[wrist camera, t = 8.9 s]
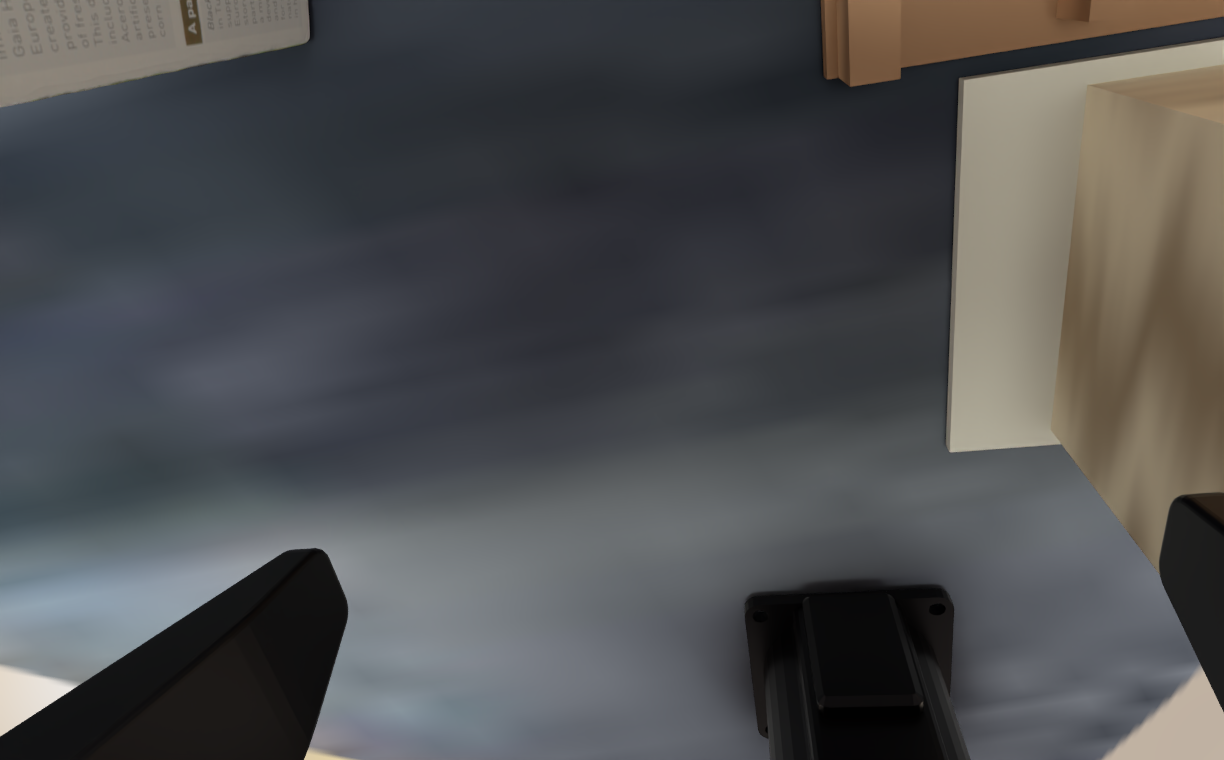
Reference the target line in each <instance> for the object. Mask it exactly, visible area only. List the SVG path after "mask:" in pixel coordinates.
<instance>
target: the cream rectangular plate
mask: <svg viewBox="0 0 1224 760" xmlns="http://www.w3.org/2000/svg"><path fill="white" fill-rule="evenodd" d="M1223 64H1224V37H1220V38H1214V39H1207V40H1201V41H1194V42H1188V43H1181V44H1175V45H1169V46H1162V47H1156V48H1149V49H1143V50H1136V51H1130V52H1123V53H1117V54H1111V55H1104V56H1098V57H1091V58H1085V59H1078V60H1072V61H1065V62H1059V63H1053V64H1046V65H1040V66H1033V67H1027V68H1020V69H1014V70H1007V71H1001V72H995V73H988V74H982V75H975V76H969V77H962V78H959V93H958V121H957V149H956V177H955V205H954V233H953V261H952V289H951V317H950V345H949V373H948V401H947V429H946V446H947V448H948V450H949V452H962V451H976V450H989V449H1003V448H1016V447H1030V446H1043V445H1056V444H1061V443H1060V441H1059V440H1058V439H1057V438H1056V436H1055V435H1054V434H1053V432H1052V431H1051V422H1052V413H1053V404H1054V394H1055V385H1056V375H1057V366H1058V357H1059V347H1060V338H1061V328H1062V319H1063V310H1064V300H1065V291H1066V281H1067V272H1068V263H1069V253H1070V244H1071V234H1072V225H1073V216H1074V206H1075V197H1076V187H1077V178H1078V169H1079V159H1080V150H1081V140H1082V131H1083V122H1084V112H1085V103H1086V93H1087V85H1090V84H1096V83H1103V82H1110V81H1116V80H1123V79H1130V78H1136V77H1143V76H1150V75H1156V74H1163V73H1170V72H1176V71H1183V70H1190V69H1196V68H1203V67H1210V66H1216V65H1223Z"/></svg>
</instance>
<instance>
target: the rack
mask: <svg viewBox="0 0 1224 760" xmlns="http://www.w3.org/2000/svg"><path fill="white" fill-rule="evenodd" d="M1223 16H1224V0H821V19H822V44H823V70H824V77H825V78H826V79H827V80H828V79H834V78H840V79H841V80H842V81H843V82H845V83H846V84H847V85H849V86H850V87H852V86H858V85H865V84H871V83H878V82H884V81H890V80H897V79H901V68H903V67H909V66H916V65H922V64H928V63H934V62H941V61H947V60H953V59H960V58H966V57H972V56H978V55H985V54H991V53H997V52H1003V51H1010V50H1016V49H1022V48H1029V47H1035V46H1041V45H1047V44H1054V43H1060V42H1066V41H1072V40H1079V39H1085V38H1091V37H1098V36H1104V35H1110V34H1116V33H1123V32H1129V31H1135V30H1142V29H1148V28H1154V27H1160V26H1167V25H1173V24H1179V23H1185V22H1192V21H1198V20H1204V19H1211V18H1217V17H1223Z"/></svg>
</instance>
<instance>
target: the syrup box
mask: <svg viewBox="0 0 1224 760" xmlns="http://www.w3.org/2000/svg"><path fill="white" fill-rule="evenodd" d="M309 38H310V27H309V11H308V0H0V107H5V106H10V105H16V104H21V103H26V102H31V101H37V100H41V99H46V98H50V97H54V96H58V95H62V94H68V93H74V92H79V91H85V90H90V89H93V88H97V87H102V86H108V85H115V84H119V83H123V82H127V81H132V80H137V79H141V78H145V77H148V76H154V75H160V74H163V73H169V72H175V71H179V70H183V69H187V68H191V67H196V66H202V65H206V64H210V63H215V62H220V61H226V60H231V59H236V58H242V57H247V56H251V55H255V54H260V53H264V52H270V51H275V50H279V49H284V48H289V47H293V46H298V45H302V44H305V43H307V41H308V40H309Z"/></svg>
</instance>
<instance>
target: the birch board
mask: <svg viewBox="0 0 1224 760" xmlns="http://www.w3.org/2000/svg"><path fill="white" fill-rule="evenodd" d="M1051 431H1052V432H1053V434H1054V435H1055V436H1056V438H1057V439H1058V440H1059V441H1060V443H1061V444H1062V445H1063V447H1064V448H1065V449H1066V451H1067V452H1068V453H1069V455H1070V456H1071V457H1072V459H1073V460H1074V461H1075V463H1076V464H1077V465H1078V467H1079V468H1080V469H1081V471H1082V472H1083V473H1084V475H1085V476H1086V477H1087V479H1088V480H1089V481H1090V483H1091V484H1092V485H1093V487H1094V488H1095V489H1096V491H1097V492H1098V493H1099V495H1100V496H1101V497H1102V499H1103V500H1104V501H1105V503H1106V504H1107V505H1108V507H1109V508H1110V509H1111V510H1112V512H1113V513H1114V514H1115V516H1116V517H1117V518H1118V520H1119V521H1120V522H1121V524H1122V525H1123V526H1124V528H1125V529H1126V530H1127V532H1128V533H1129V534H1130V536H1131V537H1132V538H1133V540H1134V541H1135V542H1136V544H1137V545H1138V546H1139V548H1140V549H1141V550H1142V552H1143V553H1144V554H1145V556H1146V557H1147V558H1148V560H1149V561H1150V562H1151V564H1152V565H1153V566H1154V568H1155V569H1156V570H1157V572H1158V573H1159V574H1160V572H1159V557H1160V552H1161V547H1162V542H1163V536H1164V531H1165V526H1166V521H1167V516H1168V511H1169V508H1170V505H1171V503H1172V501H1173V500H1174V499H1175V498H1176V497H1178V496H1180V495H1183V494H1196V493H1212V492H1223V493H1224V64H1223V65H1216V66H1210V67H1203V68H1196V69H1190V70H1183V71H1176V72H1170V73H1163V74H1156V75H1150V76H1143V77H1136V78H1130V79H1123V80H1116V81H1110V82H1103V83H1096V84H1090V85H1087V93H1086V103H1085V112H1084V122H1083V131H1082V140H1081V150H1080V159H1079V169H1078V178H1077V187H1076V197H1075V206H1074V216H1073V225H1072V234H1071V244H1070V253H1069V263H1068V272H1067V281H1066V291H1065V300H1064V310H1063V319H1062V328H1061V338H1060V347H1059V357H1058V366H1057V375H1056V385H1055V394H1054V404H1053V413H1052V422H1051Z"/></svg>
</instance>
